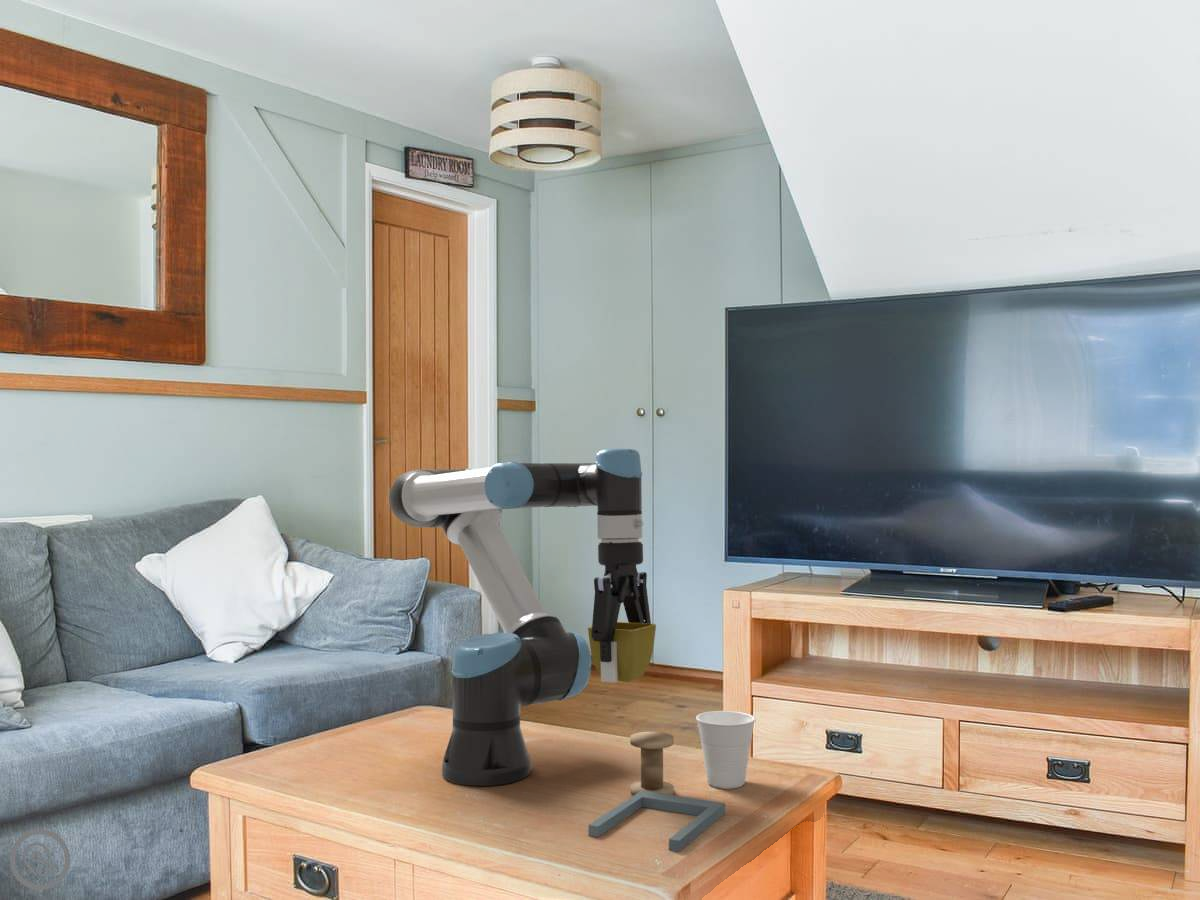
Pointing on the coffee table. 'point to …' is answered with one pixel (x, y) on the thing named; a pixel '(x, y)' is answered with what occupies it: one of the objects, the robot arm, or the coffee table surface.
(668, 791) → the bobbin
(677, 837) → the blue-grey u-shaped bracket
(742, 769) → the cup
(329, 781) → the coffee table surface
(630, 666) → the flower pot
